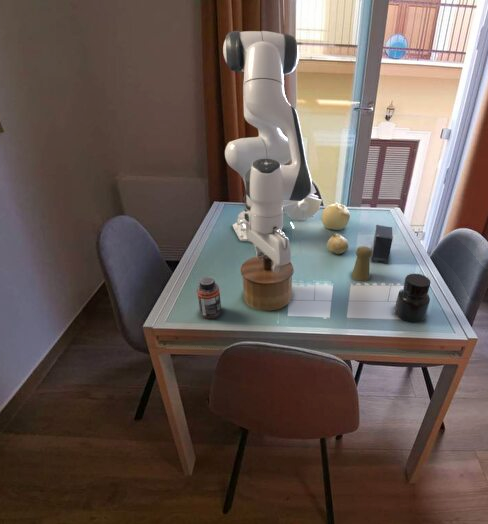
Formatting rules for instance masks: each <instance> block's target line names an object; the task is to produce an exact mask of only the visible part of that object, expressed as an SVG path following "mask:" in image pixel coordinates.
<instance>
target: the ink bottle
mask: <svg viewBox="0 0 488 524" xmlns="http://www.w3.org/2000/svg"><path fill="white" fill-rule="evenodd" d="M431 283H432V282H431V280H430V278H429V277H428V276H425V275H424V274H421V273H413V272H412V273H409V274H407V275H406V276H405V278H404V283H403V287H402V288H401V289H400V290H399V291H398V293H397V297H396V302H395V306H394V312H395V314H396V315H397V316H398V318H400V319H401V320H403V321H404V322H409V323H420V322H422V321H424V320H425V319H426V316H427V313H428V309H429V306H430V302H431V299H430V295H429V292H430V291H429V290H430V287H431Z"/></svg>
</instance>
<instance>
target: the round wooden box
mask: <svg viewBox="0 0 488 524" xmlns="http://www.w3.org/2000/svg"><path fill="white" fill-rule="evenodd" d="M292 289H293V276H292V277H291V278H289V279H288V280H286V281H284V282H282V283H278V284H273V285H261V284H255V283H252V282H250V281H248V280H246V279H245V278H244V277H243V276H242V290H243V291H242V292H243V293H242V294H243V300H244V302H245V304H246V305H247V306H249V307H250V308H252V309H255V310H259V311H265V312H267V311H268V312H269V311H277V310H279V309H282V308H284V307H286V306H287V305H288V304H289V303H290V302H291V300H292V291H293V290H292Z"/></svg>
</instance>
